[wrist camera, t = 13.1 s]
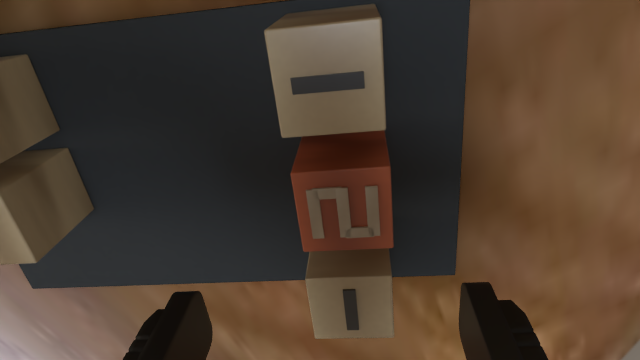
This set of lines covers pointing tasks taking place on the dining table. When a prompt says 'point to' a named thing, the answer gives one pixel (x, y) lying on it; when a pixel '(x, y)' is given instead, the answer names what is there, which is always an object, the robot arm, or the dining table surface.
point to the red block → (343, 192)
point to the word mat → (233, 143)
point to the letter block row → (336, 118)
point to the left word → (33, 170)
